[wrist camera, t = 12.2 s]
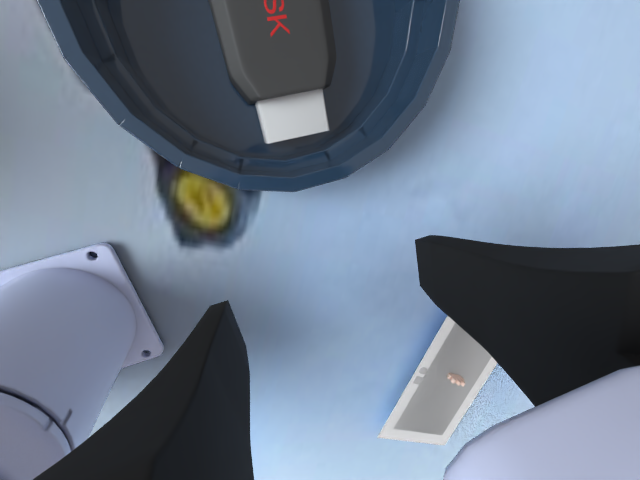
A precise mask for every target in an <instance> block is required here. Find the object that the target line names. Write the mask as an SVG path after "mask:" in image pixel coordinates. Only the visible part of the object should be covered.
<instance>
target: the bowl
mask: <svg viewBox="0 0 640 480" xmlns="http://www.w3.org/2000/svg"><path fill="white" fill-rule="evenodd" d="M37 2H38V4H39V7H40V9H41V11H42V13H43V15H44V17H45V19H46V22H47V24H48V26H49V28H50V30H51V32H52V34H53V37H54V39H55V41H56V43H57V45H58V47H59V50H60V52H61V54H62V56H63V58H64V59H65V61H66V62H67V63H68V65H69V66H70V67H71V68H72V69H73V71H74V72H75V73H76V74H77V76H78V77H79V78H80V79H81V80H82V82H83V83H84V84H85V85H86V86H87V88H88V89H89V90H90V91H91V93H92V94H93V95H94V96H95V97H96V99H97V100H98V101H99V102H100V103H101V105H102V106H103V107H104V108H105V110H106V111H107V112H108V113H109V114H110V116H111V117H112V118H113V119H114V120H115V122H116V123H117V124H118V125H120V126H121V127H122V128H123V129H125V130H126V131H127V132H129V133H130V134H132V135H133V136H134V137H136V138H137V139H139V140H140V141H141V142H143V143H144V144H146V145H147V146H148V147H150V148H151V149H153V150H154V151H155V152H157V153H158V154H160V155H161V156H162V157H164V158H165V159H166V160H168V161H169V162H171V163H172V164H173V165H175V166H176V167H179V168H180V169H182V170H185V171H188V172H191V173H194V174H196V175H199V176H202V177H205V178H207V179H210V180H213V181H216V182H219V183H221V184H224V185H227V186H230V187H233V188H235V189H239V190H258V191H281V192H294V191H295V192H297V191H300V190H304V189H307V188H311V187H315V186H318V185H322V184H325V183H329V182H333V181H336V180H340V179H343V178H346V177H348V176H349V175H351V174H352V173H354V172H355V171H357V170H358V169H360V168H361V167H363V166H364V165H366V164H367V163H369V162H370V161H372V160H373V159H375V158H376V157H378V156H379V155H381V154H383V153H384V152H386V151H387V150H388V149H389V148H390V147H391V146H392V145H393V144H394V142H395V141H396V140H397V139H398V138H399V136H400V135H401V134H402V133H403V132H404V130H405V129H406V128H407V127H408V126H409V124H410V123H411V122H412V121H413V120H414V118H415V117H416V116H417V115H418V114H419V113H420V111H421V110H422V109H423V108H424V106H425V105H426V103H427V100H428V98H429V96H430V94H431V92H432V90H433V87H434V85H435V83H436V81H437V79H438V76H439V74H440V72H441V70H442V68H443V66H444V63H445V61H446V59H447V57H448V55H449V53H450V49H451V44H452V39H453V34H454V29H455V23H456V18H457V13H458V8H459V3H460V0H329V7H330V14H331V20H332V27H333V34H334V41H335V48H336V63H335V68H334V72H333V77H332V82H331V85H330V86H329V87H327V88H325V89H323V95H324V101H325V107H326V113H327V118H328V124H329V131H324V132H320V133H315V134H310V135H306V136H301V137H297V138H292V139H287V140H283V141H278V142H274V143H269V144H267V143H265V142H264V138H263V134H262V130H261V126H260V122H259V118H258V114H257V110H256V106H255V104H251V105H249V104H248V103H247V102H246V101H245V100H244V98H243V97H242V96H241V95H240V93H239V92H238V91H237V90H236V88H235V87H234V86H233V85H232V83H231V81H230V79H229V75H228V72H227V68H226V65H225V61H224V57H223V53H222V50H221V46H220V42H219V38H218V35H217V31H216V27H215V23H214V20H213V16H212V12H211V8H210V5H209V1H208V0H37Z"/></svg>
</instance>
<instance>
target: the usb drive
mask: <svg viewBox="0 0 640 480" xmlns="http://www.w3.org/2000/svg"><path fill="white" fill-rule="evenodd" d="M208 1H209V5H210V8H211V12H212V16H213V20H214V23H215V27H216V31H217V35H218V38H219V42H220V46H221V50H222V53H223V57H224V61H225V65H226V68H227V72H228V75H229V79H230V81H231V83H232V85H233V86H234V87H235V88H236V90H237V91H238V92H239V93H240V95H241V96H242V97H243V98H244V100H245V101H246V102H247V103H248V104H249V105H251V104H255V106H256V110H257V114H258V118H259V122H260V126H261V130H262V134H263V138H264V142H265V143H267V144H269V143H274V142H278V141H283V140H287V139H292V138H297V137H301V136H306V135H310V134H315V133H320V132H324V131H329V124H328V118H327V113H326V107H325V101H324V95H323V89H325V88H327V87H329V86H330V85H331V82H332V77H333V72H334V68H335V63H336V48H335V41H334V34H333V27H332V20H331V14H330V7H329V0H208Z"/></svg>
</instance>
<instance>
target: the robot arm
mask: <svg viewBox="0 0 640 480" xmlns="http://www.w3.org/2000/svg"><path fill="white" fill-rule="evenodd" d="M415 244H416V253H417V262H418V271H419V280H420V286H421V287H422V289H423V290H424V291H425V292H426V294H427V295H428V296H429V297H430V299H431V300H432V301H433V302H434V303H435V304H436V305H437V306H438V307H439V308H440V309H441V310H442V311H443V312H444V313H445V314H446V315H448V316H449V317H450V318H451V319H452V320H453V321H454V322H455V323H456V324H458V325H459V326H460V327H461V328H462V329H463V330H464V331H465V332H467V333H468V334H469V335H470V336H471V337H472V338H473V339H474V340H475V341H477V342H478V343H479V344H480V345H481V346H482V347H483V348H484V349H485V350H486V351H487V352H488V353H489V354H490V355H491V356H492V357H493V358H494V359H495V361H496V362H497V363H498V364H499V365H500V366H501V367H502V368H503V369H504V370H505V372H506V373H507V374H508V375H509V376H510V377H511V378H512V380H513V381H514V382H515V383H516V384H517V385H518V387H519V388H520V389H521V390H522V391H523V392H524V394H525V395H526V396H527V397H528V398H529V399H530V401H531V402H532V403H533V404H534V406H535V407H534V408H532V409H529V410H527V411H525V412H523V413H520V414H518V415H516V416H513V417H511V418H509V419H507V420H504V421H502V422H500V423H498V424H495V425H493V426H492V427H490V428H489V429H487V430H486V431H484V432H483V433H481V434H479V435H478V436H476V437H475V438H473V439H472V440H470V441H469V442H467V443H466V444H465V445H464V446H463V447H462V449H461V450H460V451H459V452H458V454H457V455H456V456H455V457H454V459H453V460H452V461H451V462H450V464H449V465H448V466H447V467H446V469H445V473H444V478H443V480H640V245H629V246H616V247H598V248H541V247H523V246H512V245H503V244H494V243H487V242H480V241H473V240H466V239H460V238H453V237H446V236H436V235H429V236H426V237H423V238H420V239H417V240H415ZM92 251H93V252H95V253H96V254H97V255H98V258H94V257H92V256H91V255H90V253H89V252H92ZM163 349H164V346H163V343H162V341H161V339H160V337H159V336H158V334H157V332H156V330H155V328H154V326H153V324H152V322H151V320H150V318H149V316H148V314H147V312H146V310H145V308H144V307H143V305H142V303H141V301H140V299H139V297H138V295H137V293H136V291H135V289H134V287H133V285H132V283H131V281H130V279H129V278H128V276H127V274H126V272H125V270H124V268H123V266H122V264H121V262H120V260H119V258H118V256H117V254H116V252H115V250H114V249H113V247H112V246H111V245H109V244H108V243H98V244H95V245H91V246H87V247H84V248H80V249H76V250H73V251H69V252H66V253H62V254H58V255H55V256H51V257H47V258H44V259H40V260H37V261H33V262H29V263H26V264H22V265H18V266H15V267H11V268H7V269H4V270H0V480H254V476H253V466H252V457H251V446H250V371H249V363H248V356H247V349H246V345H245V342H244V340H243V337H242V335H241V332H240V329H239V327H238V324H237V322H236V319H235V317H234V314H233V312H232V309H231V306H230V304H229V301H228V300H227V301H224V302H221V303H218V304H215V305H211V306H210V307H209V308H208V310H207V311H206V312H205V314H204V315H203V317H202V318H201V320H200V321H199V322H198V324H197V325H196V327H195V328H194V330H193V331H192V332H191V334H190V335H189V337H188V338H187V339H186V341H185V342H184V343H183V345H182V346H181V347H180V348H179V350H178V351H177V352H176V353H175V355H174V356H173V357H172V358H171V360H170V361H169V362H168V363H167V365H166V366H165V367H164V368H163V369H162V370H161V371H160V372H159V374H158V375H157V376H156V377H155V378H154V379H153V380H152V381H151V382H150V383H149V384H148V385H147V386H146V387H145V388H144V389H143V390H142V391H141V392H140V393H139V394H138V395H137V396H136V397H135V398H134V399H133V400H132V401H131V402H130V403H129V404H127V405H126V406H125V407H124V408H123V409H122V410H121V411H120V412H119V413H118V414H116V415H115V416H114V417H113V418H112V419H111V420H110V421H109V422H107V423H106V424H105V425H104V426H103V427H101V428H100V429H99V430H98V431H97V432H95V433H94V434H93V435H92V436H91V437H89V435H90V433H91V431H92V429H93V427H94V424H95V422H96V420H97V418H98V416H99V414H100V412H101V409H102V407H103V405H104V403H105V401H106V399H107V397H108V395H109V392H110V390H111V388H112V386H113V384H114V382H115V380H116V377H117V375H118V373H119V371H120V369H122V368H125V367H128V366H131V365H134V364H137V363H140V362H143V361H145V360H148V359H151V358H154V357H157V356H159V355H161V354H162V352H163ZM144 350H148V351H150V353H145V352H144ZM88 437H89V438H88Z"/></svg>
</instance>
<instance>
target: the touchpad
mask: <svg viewBox="0 0 640 480" xmlns="http://www.w3.org/2000/svg"><path fill="white" fill-rule="evenodd" d="M496 365H497V362H496V361H495V359H494V358H493V357H492V356H491V355H490V354H489V353H488V352H487V351H486V350H485V349H484V348H483V347H482V346H481V345H480V344H479V343H478V342H477V341H475V340H474V339H473V338H472V337H471V336H470V335H469V334H468V333H467V332H465V331H464V330H463V329H462V328H461V327H460V326H459V325H458V324H456V323H455V322H454V321H453V320H452V319H451V318H450V317H449V316H448V315H447V317H446V319H445V321H444V322H443V324H442V326H441V328H440V329H439V331H438V333H437V335H436V336H435V338H434V340H433V341H432V343H431V345H430V347H429V348H428V350H427V352H426V354H425V355H424V357H423V359H422V361H421V362H420V364H419V366H418V368H417V369H416V371H415V373H414V374H413V376H412V378H411V380H410V381H409V383H408V385H407V387H406V388H405V390H404V392H403V394H402V395H401V397H400V399H399V400H398V402H397V404H396V406H395V407H394V409H393V411H392V413H391V414H390V416H389V418H388V420H387V421H386V423H385V425H384V426H383V428H382V430H381V432H380V433H379V435H378V437H377V438H384V439H393V440H401V441H410V442H419V443H427V444H436V445H445V444H446V443H447V441H448V440H449V438H450V436H451V435H452V433H453V432H454V430H455V429H456V427H457V426H458V424H459V422H460V421H461V419H462V418H463V416H464V415H465V413H466V411H467V410H468V408H469V407H470V405H471V404H472V402H473V400H474V399H475V397H476V396H477V394H478V393H479V391H480V390H481V388H482V386H483V385H484V383H485V382H486V380H487V379H488V377H489V375H490V374H491V372H492V371H493V369H494V368H495V366H496Z"/></svg>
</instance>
